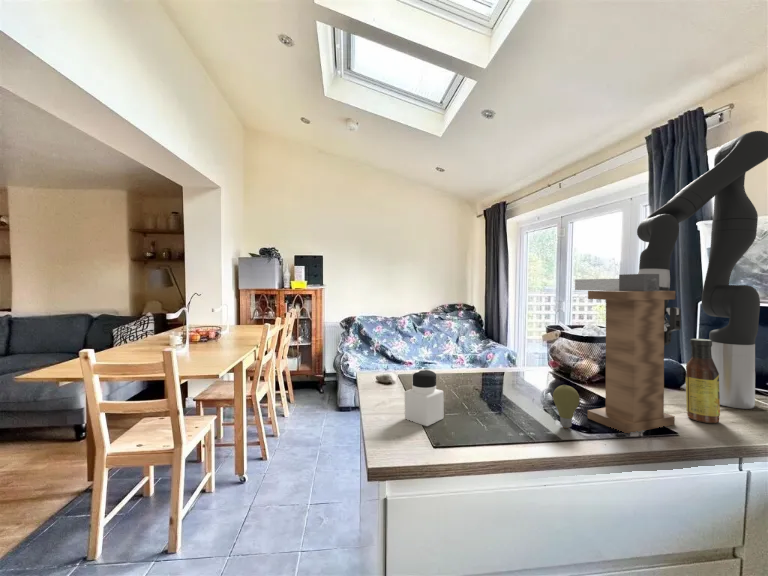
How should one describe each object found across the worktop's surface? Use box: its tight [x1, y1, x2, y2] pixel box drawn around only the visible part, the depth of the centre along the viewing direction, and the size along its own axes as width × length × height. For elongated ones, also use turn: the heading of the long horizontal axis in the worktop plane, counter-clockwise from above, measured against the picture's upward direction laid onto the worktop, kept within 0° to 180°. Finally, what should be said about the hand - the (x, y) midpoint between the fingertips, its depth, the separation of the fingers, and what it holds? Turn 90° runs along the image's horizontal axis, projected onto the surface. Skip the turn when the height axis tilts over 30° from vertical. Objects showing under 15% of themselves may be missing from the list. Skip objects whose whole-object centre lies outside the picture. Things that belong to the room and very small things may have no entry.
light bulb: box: [552, 384, 580, 429], centre depth 84 cm, size 6×6×10 cm
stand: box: [587, 290, 676, 434], centre depth 87 cm, size 16×10×32 cm, turn 109°
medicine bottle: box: [404, 369, 445, 427], centre depth 90 cm, size 7×7×12 cm
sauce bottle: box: [685, 338, 721, 424], centre depth 89 cm, size 7×6×20 cm
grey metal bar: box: [574, 273, 659, 291], centre depth 92 cm, size 5×20×4 cm, turn 19°
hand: (648, 342), depth 101 cm, fingers open, 8 cm apart
